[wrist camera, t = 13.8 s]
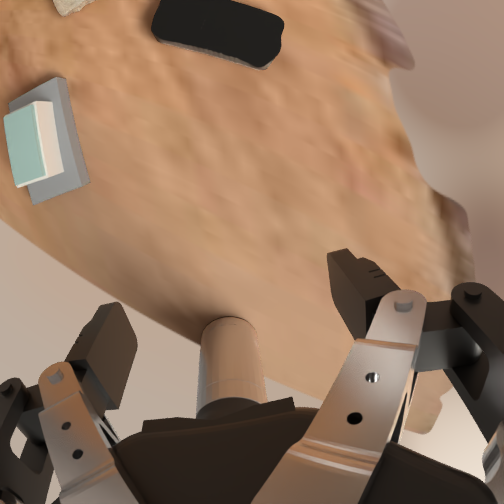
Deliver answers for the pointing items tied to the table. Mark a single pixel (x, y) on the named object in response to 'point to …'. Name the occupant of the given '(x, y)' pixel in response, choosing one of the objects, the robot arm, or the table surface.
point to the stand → (67, 140)
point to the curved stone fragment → (70, 6)
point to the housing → (33, 143)
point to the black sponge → (220, 30)
